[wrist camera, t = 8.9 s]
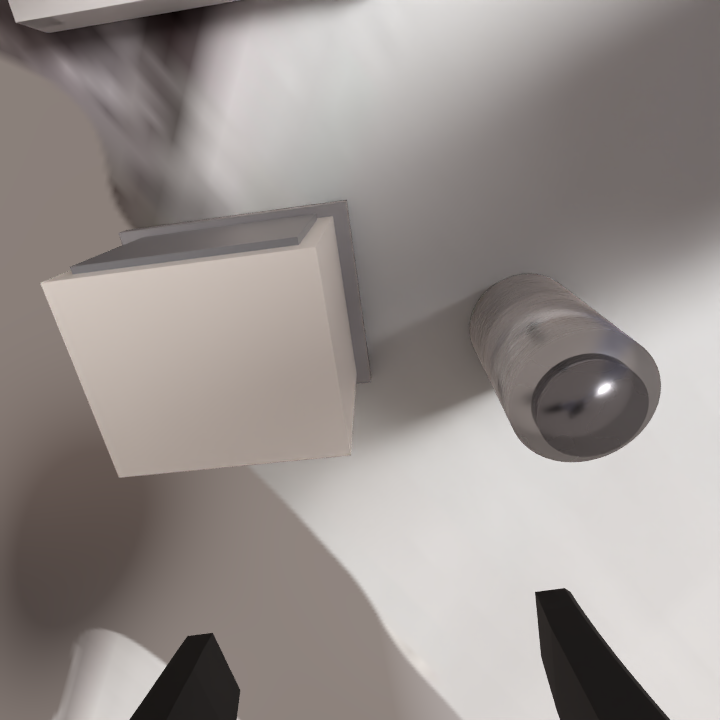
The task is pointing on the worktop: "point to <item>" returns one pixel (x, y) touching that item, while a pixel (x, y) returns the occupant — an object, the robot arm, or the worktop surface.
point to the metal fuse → (562, 369)
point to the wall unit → (219, 340)
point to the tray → (93, 11)
